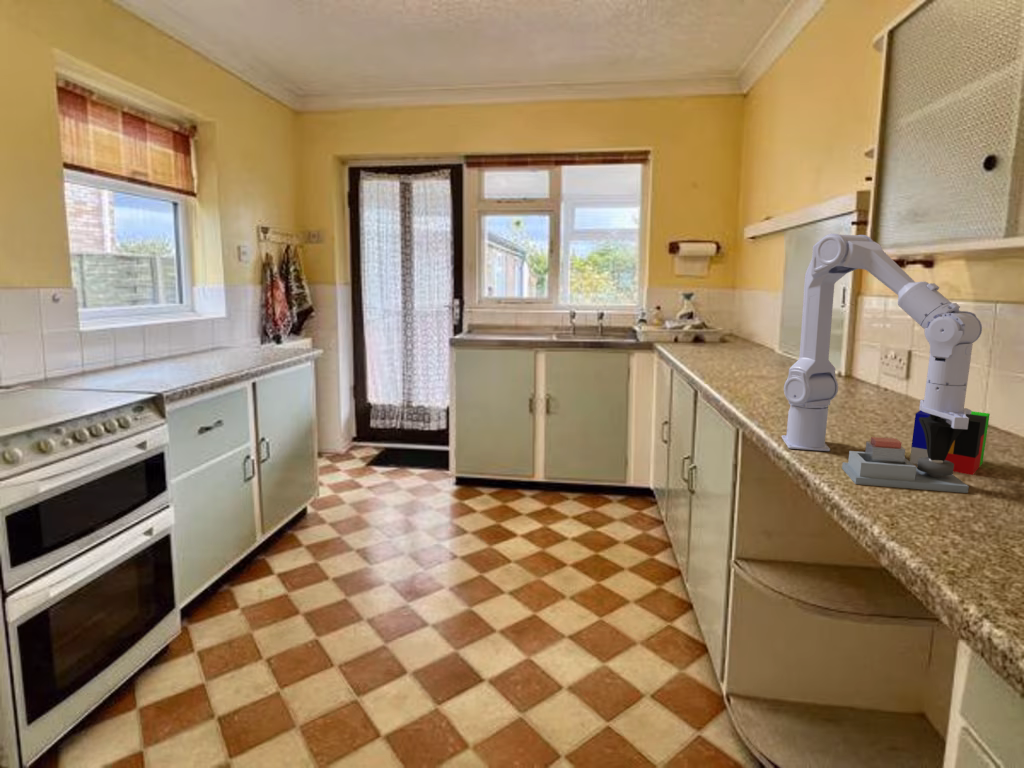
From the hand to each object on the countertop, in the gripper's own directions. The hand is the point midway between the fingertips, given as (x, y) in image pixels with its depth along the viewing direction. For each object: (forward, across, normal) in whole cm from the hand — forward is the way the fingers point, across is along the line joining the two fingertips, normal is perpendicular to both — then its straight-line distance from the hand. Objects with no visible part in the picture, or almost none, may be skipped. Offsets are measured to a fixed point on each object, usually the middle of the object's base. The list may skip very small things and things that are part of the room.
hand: (936, 459), depth 106 cm
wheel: (+2, 0, 0) cm, 2 cm away
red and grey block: (+3, 0, +8) cm, 9 cm away
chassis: (+4, 0, +5) cm, 7 cm away
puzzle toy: (+4, +14, -7) cm, 16 cm away
